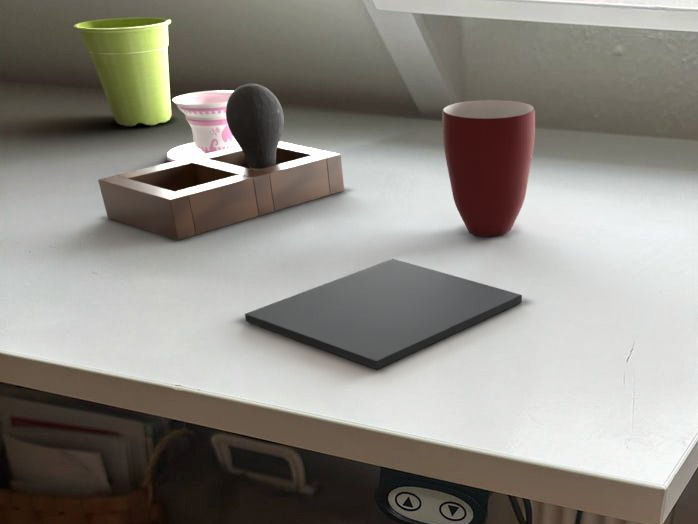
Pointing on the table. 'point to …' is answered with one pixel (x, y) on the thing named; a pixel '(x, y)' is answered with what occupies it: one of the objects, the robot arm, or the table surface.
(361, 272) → the mat
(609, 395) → the table surface
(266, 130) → the light bulb
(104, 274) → the table surface
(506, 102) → the mug
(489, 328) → the table surface
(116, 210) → the wooden divided tray
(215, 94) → the teacup
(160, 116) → the plant pot
